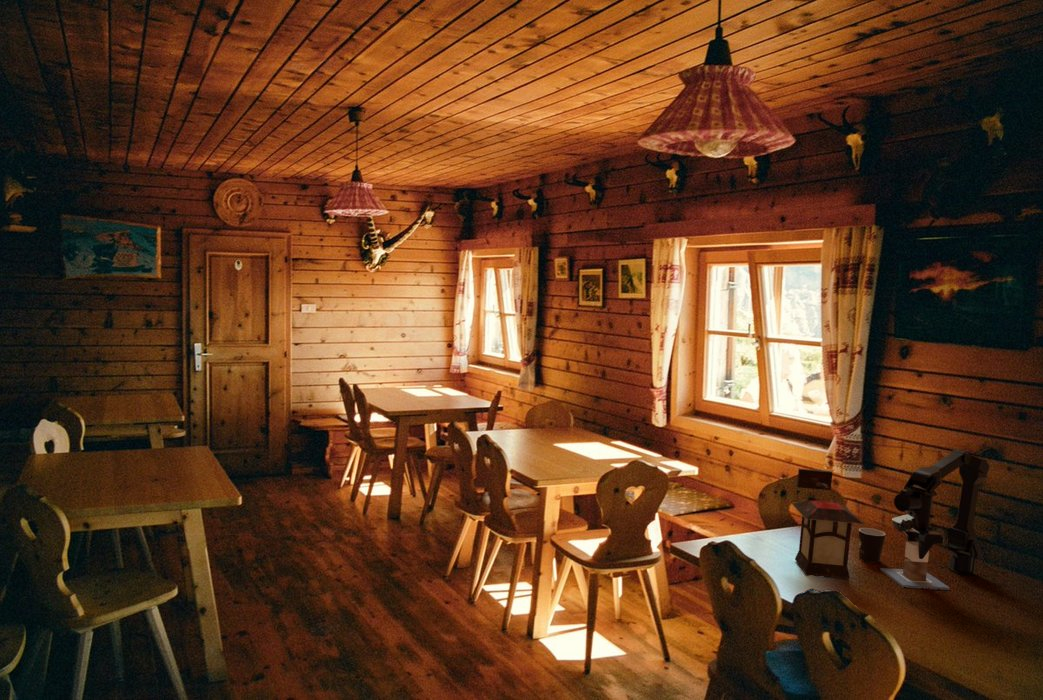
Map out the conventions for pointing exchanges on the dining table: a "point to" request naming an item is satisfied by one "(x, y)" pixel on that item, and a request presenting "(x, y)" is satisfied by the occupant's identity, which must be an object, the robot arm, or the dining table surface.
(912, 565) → the walnut block
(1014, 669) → the dining table surface
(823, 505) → the lantern
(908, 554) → the cream block
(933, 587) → the board
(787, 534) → the dining table surface
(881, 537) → the coffee mug
